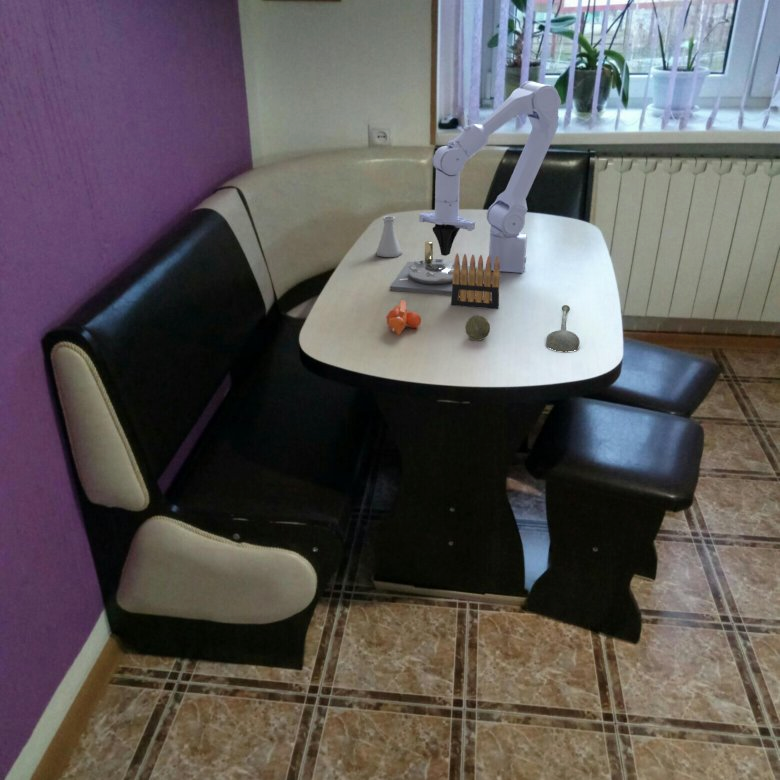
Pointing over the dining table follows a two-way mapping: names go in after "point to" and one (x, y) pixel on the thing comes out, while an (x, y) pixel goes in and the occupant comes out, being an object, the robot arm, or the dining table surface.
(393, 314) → the orange toy bird
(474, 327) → the lime
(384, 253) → the flask
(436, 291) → the cap plate
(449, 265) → the crank wheel with handle
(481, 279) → the ammunition clip
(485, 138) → the robot arm
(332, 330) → the dining table surface
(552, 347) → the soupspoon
